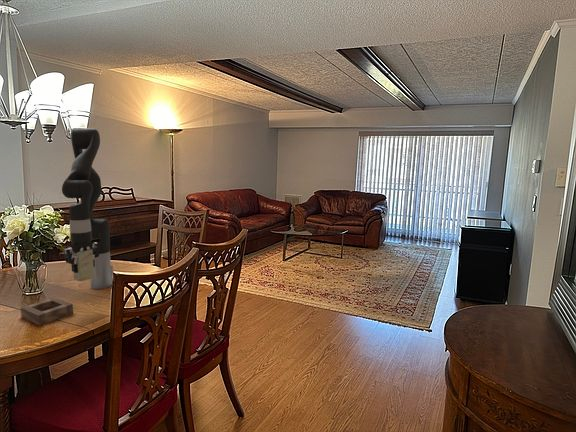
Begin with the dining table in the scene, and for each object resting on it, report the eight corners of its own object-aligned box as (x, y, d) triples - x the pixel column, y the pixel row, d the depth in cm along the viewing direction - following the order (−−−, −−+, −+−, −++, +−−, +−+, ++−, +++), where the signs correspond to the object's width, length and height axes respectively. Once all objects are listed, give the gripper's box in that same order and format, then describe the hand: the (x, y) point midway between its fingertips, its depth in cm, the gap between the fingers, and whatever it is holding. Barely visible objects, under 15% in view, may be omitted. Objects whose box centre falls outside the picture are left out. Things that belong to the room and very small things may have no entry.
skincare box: (80, 282, 152) (78, 252, 150) (73, 280, 154) (71, 251, 152) (95, 277, 158) (93, 249, 156) (88, 275, 160) (86, 247, 158)
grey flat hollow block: (55, 306, 161) (54, 297, 161) (73, 313, 155) (72, 304, 154) (21, 317, 150) (20, 307, 150) (39, 325, 144) (38, 315, 143)
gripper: (92, 226, 161) (94, 264, 163) (57, 232, 148) (60, 273, 151) (103, 228, 157) (105, 267, 160) (68, 234, 145) (71, 277, 147)
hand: (83, 270), depth 155 cm, fingers closed on skincare box, 6 cm apart
